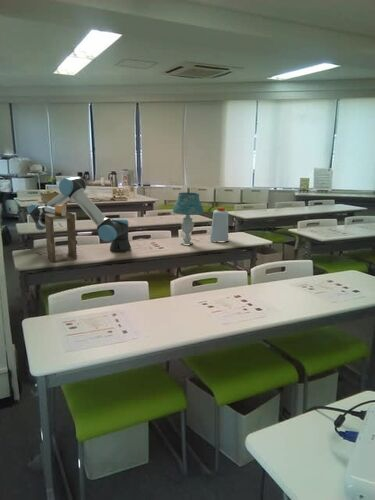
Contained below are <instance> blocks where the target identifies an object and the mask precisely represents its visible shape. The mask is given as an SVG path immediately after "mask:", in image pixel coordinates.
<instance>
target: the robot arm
mask: <svg viewBox="0 0 375 500" xmlns="http://www.w3.org/2000/svg"><path fill="white" fill-rule="evenodd" d="M86 188H87V182H86V180H85V179H84V178H83V177H81V176H72V177H64V178H62V179H60V181H59V184H58V191H59V192H60V193H59V194H57V195H55V196H54V197H53V198H52V199H50V200H49V201H48V202H47V203H46V202H45V204H43V205H40V206H38V205H37V204H36V203H32V204H30V205H28V206H27V207H26V210H27V213H28V214H29V216H30V217H31V219H32V220H33V222H34V224H35V225H34V226H35V229H36V230H38V231H41V232H43V231H45V230H46V226H45V214H52V213H51V212H47V211H45V208H44V206H51V207H54V208H55V205H65V203H67V202H68V201H70V200H71V201H75V202H76V204H77V205H78V207H80V208H81V210H82V211H83V212H84V213H85V214H86V215H87V216H88V217H89V218H90V220H91V221H92V222H93V223H94V225H95V226H96V230H97V233H98V234H97V235H98V238H100V240H102V241H104V242H110V247H109V251H111V252H114V253H127V251H128V252H131V250H132V245H131V243H130V241H129V240H130V239H129V226H130V225H129V220H128V219H125V218H112V219H111V218H110V217H106V216H105V214H104V213H103V212H102V211H101V210H100V209H99V207H98V206H97V205H96V204H95V203H94V202H93V201H92V200H91V199H90V197H89V196H88V195H87V194H86V193H85V191H86Z"/></svg>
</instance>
